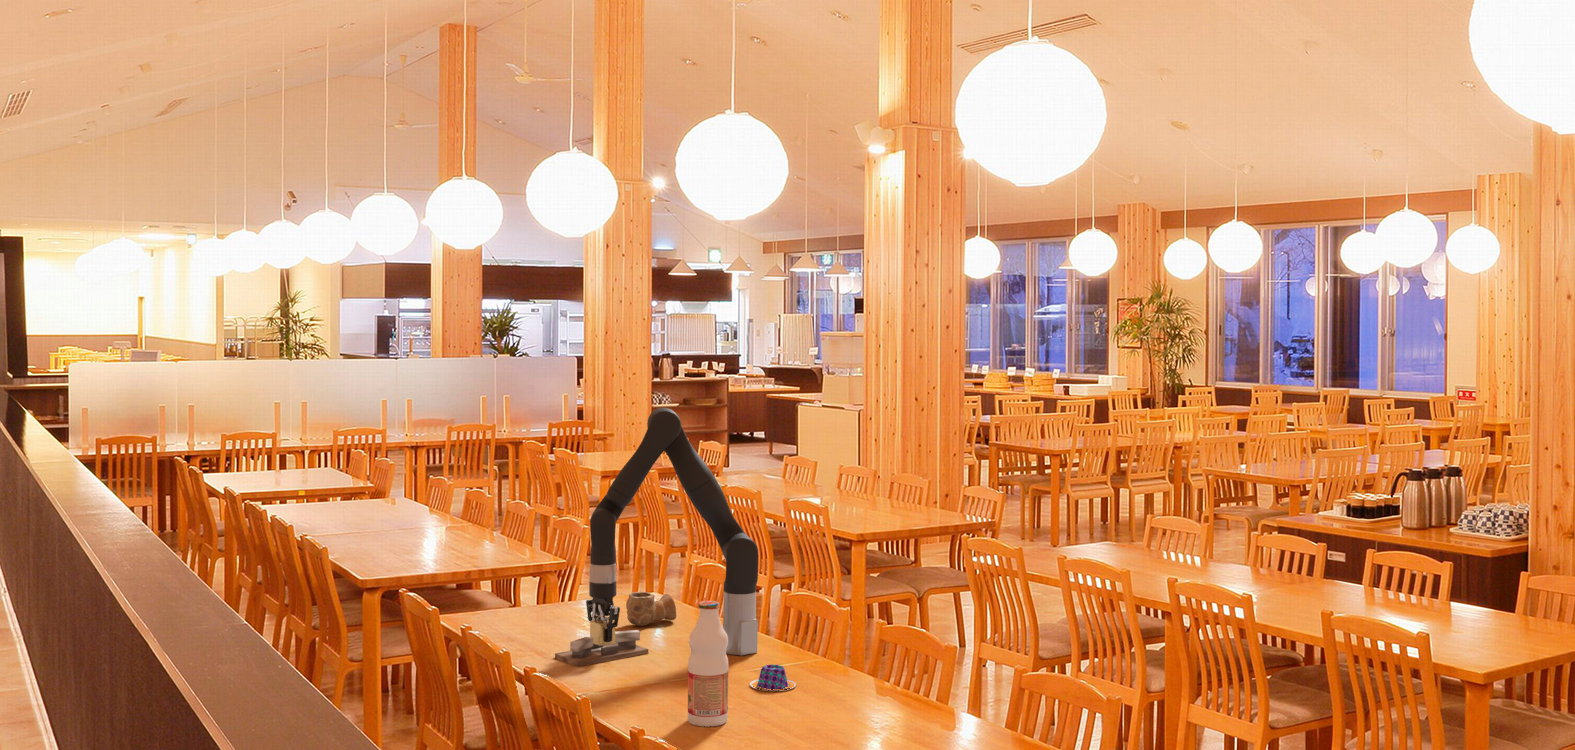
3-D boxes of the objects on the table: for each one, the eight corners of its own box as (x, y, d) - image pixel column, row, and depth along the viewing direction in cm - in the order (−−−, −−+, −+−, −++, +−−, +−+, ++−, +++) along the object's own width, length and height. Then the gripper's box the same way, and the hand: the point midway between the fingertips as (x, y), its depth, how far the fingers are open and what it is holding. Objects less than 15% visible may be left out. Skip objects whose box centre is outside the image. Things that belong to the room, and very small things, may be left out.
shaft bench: (648, 653, 358) (648, 632, 358) (578, 666, 343) (578, 645, 343) (624, 644, 367) (624, 624, 367) (554, 657, 352) (555, 636, 352)
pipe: (680, 623, 395) (681, 591, 395) (637, 631, 384) (637, 598, 384) (663, 618, 402) (664, 586, 402) (620, 625, 391) (621, 593, 391)
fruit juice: (706, 730, 291) (708, 608, 290) (679, 721, 298) (680, 602, 297) (736, 721, 298) (737, 602, 297) (708, 712, 305) (709, 596, 304)
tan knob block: (615, 643, 355) (615, 620, 355) (599, 645, 352) (600, 623, 352) (605, 639, 359) (605, 617, 359) (590, 642, 356) (590, 619, 355)
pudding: (804, 685, 330) (804, 665, 330) (781, 696, 320) (781, 675, 320) (765, 678, 336) (765, 658, 336) (740, 689, 326) (740, 668, 326)
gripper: (577, 576, 357) (577, 637, 358) (605, 585, 347) (605, 647, 347) (600, 573, 362) (599, 633, 363) (628, 581, 352) (628, 642, 352)
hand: (602, 639), depth 355 cm, fingers closed on tan knob block, 5 cm apart
